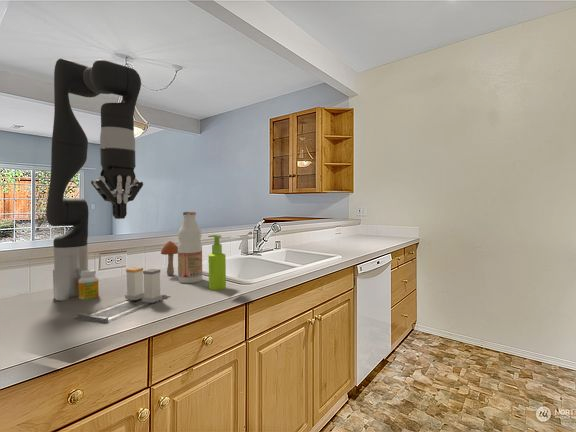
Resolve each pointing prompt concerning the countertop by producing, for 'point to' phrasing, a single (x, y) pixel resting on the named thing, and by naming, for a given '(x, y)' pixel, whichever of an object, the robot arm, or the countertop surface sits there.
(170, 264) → the mushroom
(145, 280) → the block
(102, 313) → the grey flat plate
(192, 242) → the fruit juice
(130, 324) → the countertop surface
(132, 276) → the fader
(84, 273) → the supplement bottle
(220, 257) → the soap dispenser
